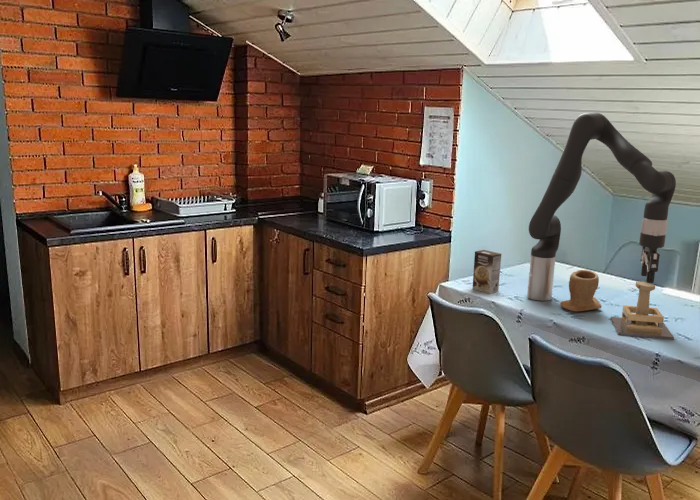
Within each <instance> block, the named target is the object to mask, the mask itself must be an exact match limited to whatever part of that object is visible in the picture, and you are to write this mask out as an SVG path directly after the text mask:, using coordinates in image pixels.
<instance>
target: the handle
mask: <svg viewBox="0 0 700 500" xmlns="http://www.w3.org/2000/svg"><path fill="white" fill-rule="evenodd" d="M635 287H636V288H637V289H638V297H637V302H636V313H635V314H643V315H650V314H649V308H650V296H651V295H650V294H651V292H652V291H654V290H656V285H655V283H647V282H646V281H636V282H635ZM636 325H646V322H645V321H636Z"/></svg>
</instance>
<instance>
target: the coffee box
mask: <svg viewBox="0 0 700 500" xmlns="http://www.w3.org/2000/svg"><path fill="white" fill-rule="evenodd" d="M501 264H502V253H500V252H495V251H490V250H486V249H481V250H480V249H479V250H476V251H474V259H473V276H472V277H473V278H472V290H475V291H478V290H479V291H478V292H482V293H485V294H489V295H490V293H491V294H494V293H498V292H499V288H500V287H499V286H500V276H501V275H500V274H501ZM497 291H498V292H497Z"/></svg>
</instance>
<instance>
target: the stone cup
mask: <svg viewBox="0 0 700 500" xmlns="http://www.w3.org/2000/svg"><path fill="white" fill-rule="evenodd" d="M599 279H600V278H599V275H598V274H597V273H596V272H594V271H592V270H588V269H579V270H576V271H574V272H572V273H571V275H570V277H569V281H568V289H569V295H570V298H569V299H568V300H567V299H566V300H562V301H561V302H559V304H560V306H561V307H562V308H564V309H566V310H568V311H571V312H585V311H586V312H587V311H592V310H597V309H601V308H602V304H601V303H600V301H599V300H598V299H597V298H596V297H594V296H595V295H596V292H597V289H598V287H599V282H600V281H599Z"/></svg>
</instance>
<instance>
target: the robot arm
mask: <svg viewBox="0 0 700 500" xmlns="http://www.w3.org/2000/svg"><path fill="white" fill-rule="evenodd" d="M591 140H596V141H599V142H600V143H601V144H603V145H605V146H606V147H607V148H608V149H609V151H611V152H612V154H613V156H614V158H615V159H616V161H617V162H618V163H619V164H620V166H622V167H623V168H624V169H625V170H627V171H628V172H629V173H630V174H631V175H633V177H634V178H635V179H636V180H637V182H638V184H639V185H640V186H641V187H642V188H643V189H644V190H645V191H647V192H649V193H650V194H651V197H650V199H649V200H648V201H646V202H645V205H644V210H643V217H642V222H641V227H640V235H639V240H638V241H639V242H638V243H639V245H640V246H641V247H642V248H641V256H640V259H639V260H640V262H641V263H640V264H641V270H640V276H641V277H646V279H645V280H646V281H645V282H647V283H651V284H655V283H654V281H655V275H656V273H658V271H659V262H660V253H658V250H659V249H663V248H665V242H666V234H667V231H668V229H667V227H668V215H669V206H670V204H671V202H672V199H673V195H674V193H675V190H676V187H677V186H676V185H677V182H676V181H677V180H676V177H675V175H674V174H673V172H671V171H667V170H662V171H661V170H660V171H659V170H657V169H655V167H653V161H652V160H651V159H650V158H649V157H647V156H646V155H645V154H644V153H643V152H642V151H640V150H639V149H638V148H636V147H635V146H634V145H633V144H632V143H631V142H629V141H628V140H627V139H626V138H625V137H624V136H623V135H622V134H621V133H620V132H619V131H618V129H617V128H616V127H615V126H614V125H613V124H612V123H611V122H610V120H609V119H608V118H607V117H606V116H605V115H603V114H602V113H599V112H586V113H585V112H584V113H581V114H579V115H578V116H577V117H576V118H575V120H574V121H573V123H572V125H571V129H570V132H569V134H568V138H567V141H566V144H565V147H564V149H563V151H562V154H561V155H560V159H559V161H558V164H557V165H556V167H555V169H554V172H553V175H552V176H551V178H550V182H549V184H548V186H547V188H546V191H545V193H544V194H543V197H542V198H541V201H540V203H539V205H538V207H537V209H536V210H535V212H534V213H533V215H532V216H531V219H530V222H529V224H528V233H529V236H530V237H531V238H532V239H534V240H538V242H537V243H536V244H535V245H533V246H532V248H531V251H530V260H529V261H530V262H529V264H530V265H529V272H528V282H527V283H528V285H527V293H526V294H527V295H526V296H527V299H530V300H534V301H541V302H543V301H544V302H547V301H551V300H552V299H553V297H552V296H553V290H554V288H553V287H554V277H555V266H556V254H557V252H558V250H559V247H560V246H559V245H560V239H561V233H562V225H561V224H562V223H561V220H560V219H559V217H558V216H557V215H555V213H556V212H557V211H558V210H559V208H560V206H562V204H564V203H565V202H566V201H567V200H568V199H569V198H570V197H571V195H572V194H573V193H574V191H575V189H576V188H577V186H578V183H579V181H580V179H581V176H582V171H583V169H582V167H583V165H582V163H583V160H582V159H583V155H584V152H585V150H586V148H587V146H588V145H589V142H590V141H591Z"/></svg>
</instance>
